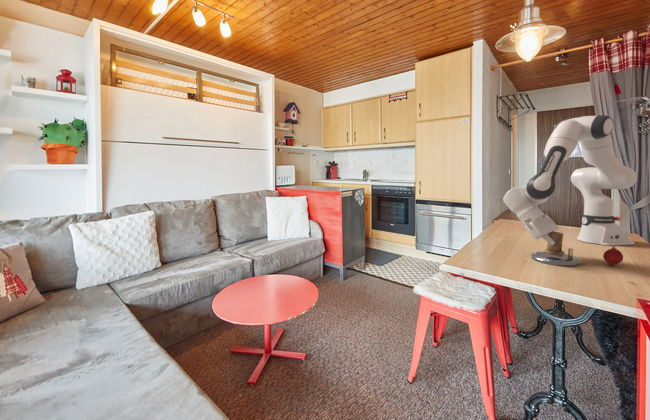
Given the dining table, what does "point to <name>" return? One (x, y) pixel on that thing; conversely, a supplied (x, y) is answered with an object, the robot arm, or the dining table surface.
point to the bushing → (557, 247)
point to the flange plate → (556, 258)
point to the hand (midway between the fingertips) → (556, 242)
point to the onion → (613, 256)
